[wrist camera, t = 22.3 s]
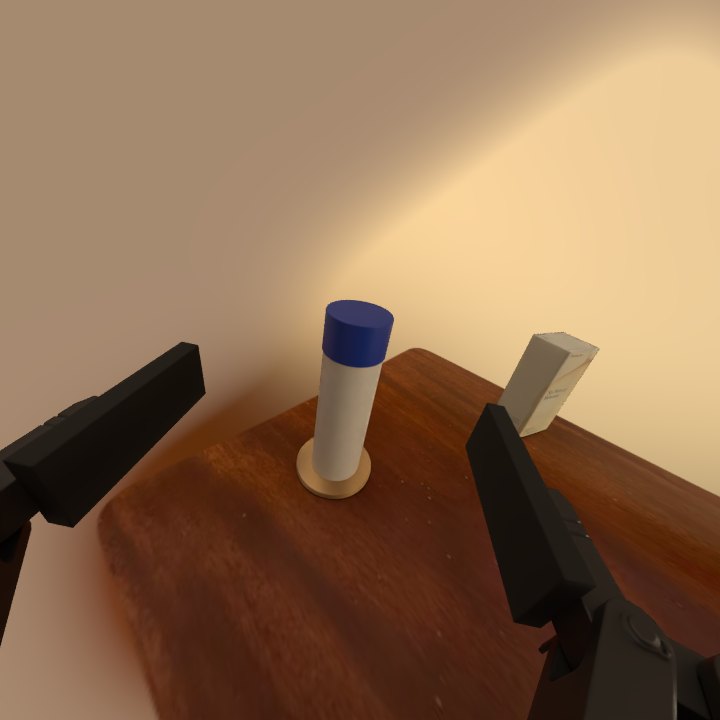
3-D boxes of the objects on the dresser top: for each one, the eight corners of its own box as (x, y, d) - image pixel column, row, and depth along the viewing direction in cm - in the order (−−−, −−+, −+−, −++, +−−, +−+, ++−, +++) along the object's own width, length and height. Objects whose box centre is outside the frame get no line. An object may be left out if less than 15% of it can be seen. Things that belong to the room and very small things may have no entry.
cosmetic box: (516, 440, 34) (570, 353, 28) (488, 415, 37) (531, 333, 31) (547, 429, 37) (603, 348, 30) (519, 407, 40) (564, 330, 34)
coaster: (303, 508, 23) (304, 503, 22) (291, 442, 28) (291, 438, 28) (381, 489, 25) (382, 485, 25) (356, 432, 31) (356, 428, 30)
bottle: (316, 487, 24) (336, 327, 16) (306, 445, 27) (319, 298, 20) (366, 476, 25) (406, 326, 18) (350, 438, 29) (378, 300, 21)
